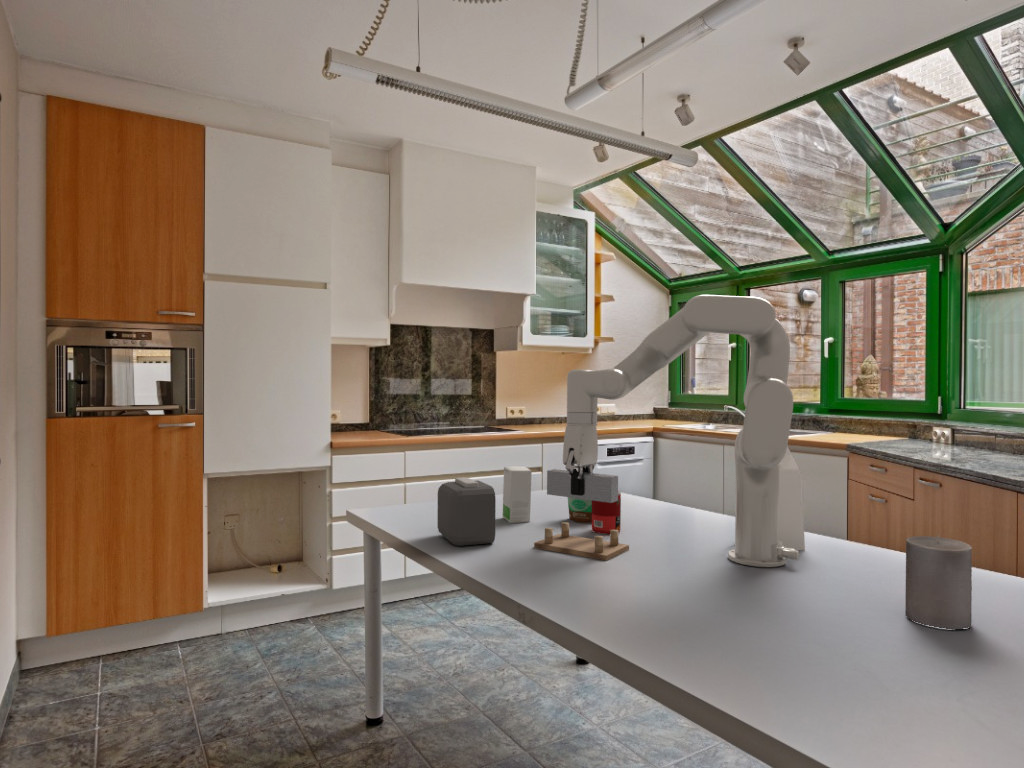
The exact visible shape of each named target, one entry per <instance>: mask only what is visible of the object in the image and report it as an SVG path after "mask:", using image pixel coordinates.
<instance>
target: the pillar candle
mask: <svg viewBox="0 0 1024 768" xmlns="http://www.w3.org/2000/svg"><path fill="white" fill-rule="evenodd" d="M972 550H973V547H972V546H971V545H970V544H968V543H966V542H965V541H961V540H957V539H953V538H948V537H940V534H937V536H931V535H930V536H929V535H925V536H924V535H919V536H918V535H917V536H916V535H915V536H909V537H907V538H906V539H905V606H904V607H905V611H904V612H905V615H904V616H905V617H906V616H907V617H908V618H909V619H911V620H913V621H915V622H918V623H921V624H924V625H929V626H934V627H939V628H946V629H963V628H968V627H970V626H971V627H972V621H973V619H972V607H973V606H972V600H973V598H972V597H973V596H972V594H973V593H972V591H973V589H972V588H973V587H972V586H973V584H972V576H973V575H972V571H973V569H972V568H973V567H972V566H973V565H972V559H973V558H972ZM907 617H906V618H907ZM908 618H907V619H908ZM909 619H908V620H909ZM911 620H910V621H911ZM971 627H970V628H971Z"/></svg>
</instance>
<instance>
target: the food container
mask: <svg viewBox="0 0 1024 768" xmlns="http://www.w3.org/2000/svg"><path fill="white" fill-rule="evenodd" d="M567 505H568V517H569V520H570V521H571V522H575V523H581V524H592V500H586V499H578V498H571V497H567Z"/></svg>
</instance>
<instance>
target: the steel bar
mask: <svg viewBox="0 0 1024 768" xmlns="http://www.w3.org/2000/svg"><path fill="white" fill-rule="evenodd" d="M546 474H547V475H546V476H547V477H546V478H547V479H546V495H547V496H548V495H550V496H555V497H565V498H568V497H571V498H578V499H586V500H593V501H601V502H608V503H612V502H615V501H618V491H619V475H612V474H605V473H596V472H595V473H586V472H582V478H581V479H583V495H582V496H579V495H572V494H571V478H570V474H569V472H568V471H567V470H564V469H558V468H554V469H550V470H549V469H548V470H546Z"/></svg>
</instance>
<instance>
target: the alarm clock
mask: <svg viewBox="0 0 1024 768" xmlns="http://www.w3.org/2000/svg"><path fill="white" fill-rule="evenodd" d="M494 489H495V488H494V487H493V486H491V485H489V484H487V483H486V482H483V481H480V480H473V479H472V478H469V477H466V476H465V477H455V479H454V481H447V482H444V483H442V484H441V485H440V486H439V487H438V490H437V531H438V533H440V534H441V535H442V536H443V537H444V538H445V539H446V540H448V541H449V542H450V543H451V544H453V545H454V546H457V547H459V546H461V547H462V546H473V545H485V544H493V543H494V542H495V540H496V501H497V500H496V491H495V490H494Z"/></svg>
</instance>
